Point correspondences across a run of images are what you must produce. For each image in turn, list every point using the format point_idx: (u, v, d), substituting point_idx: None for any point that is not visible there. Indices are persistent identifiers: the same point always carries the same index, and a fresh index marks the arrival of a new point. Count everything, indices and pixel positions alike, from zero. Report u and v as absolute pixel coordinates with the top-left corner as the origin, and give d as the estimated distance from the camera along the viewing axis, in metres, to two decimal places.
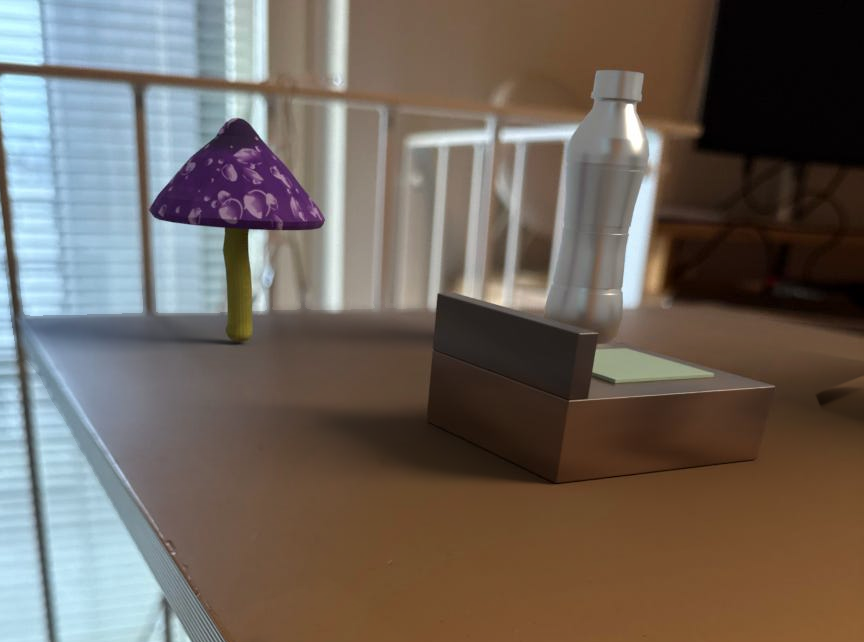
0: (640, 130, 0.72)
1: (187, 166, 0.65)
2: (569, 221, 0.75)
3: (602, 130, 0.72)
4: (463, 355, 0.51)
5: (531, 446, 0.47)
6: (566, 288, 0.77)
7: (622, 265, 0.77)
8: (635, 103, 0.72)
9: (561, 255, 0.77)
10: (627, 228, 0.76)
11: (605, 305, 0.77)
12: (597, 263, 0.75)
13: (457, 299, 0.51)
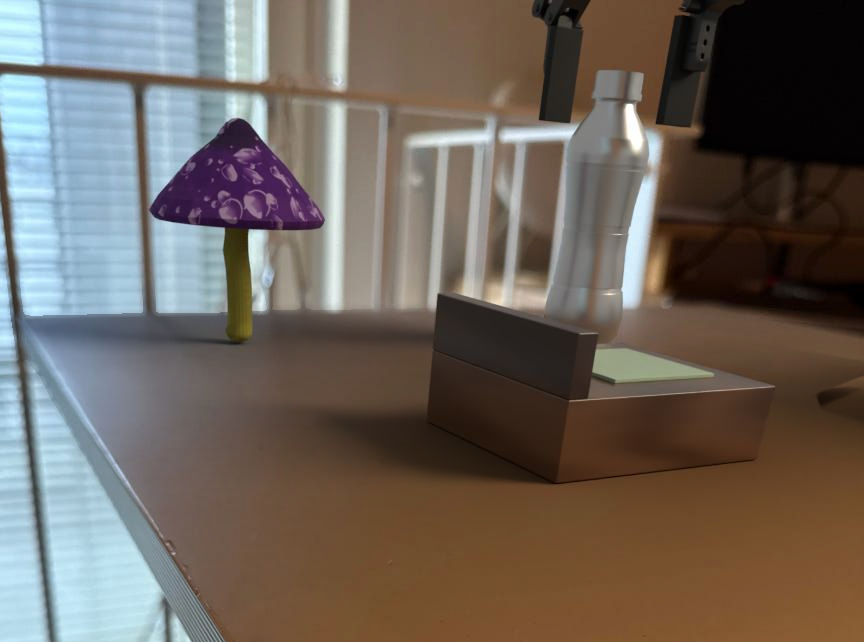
0: (640, 130, 0.72)
1: (187, 166, 0.65)
2: (569, 221, 0.75)
3: (602, 130, 0.72)
4: (463, 355, 0.51)
5: (531, 446, 0.47)
6: (566, 288, 0.77)
7: (622, 265, 0.77)
8: (635, 103, 0.72)
9: (561, 255, 0.77)
10: (627, 228, 0.76)
11: (605, 305, 0.77)
12: (597, 263, 0.75)
13: (457, 299, 0.51)
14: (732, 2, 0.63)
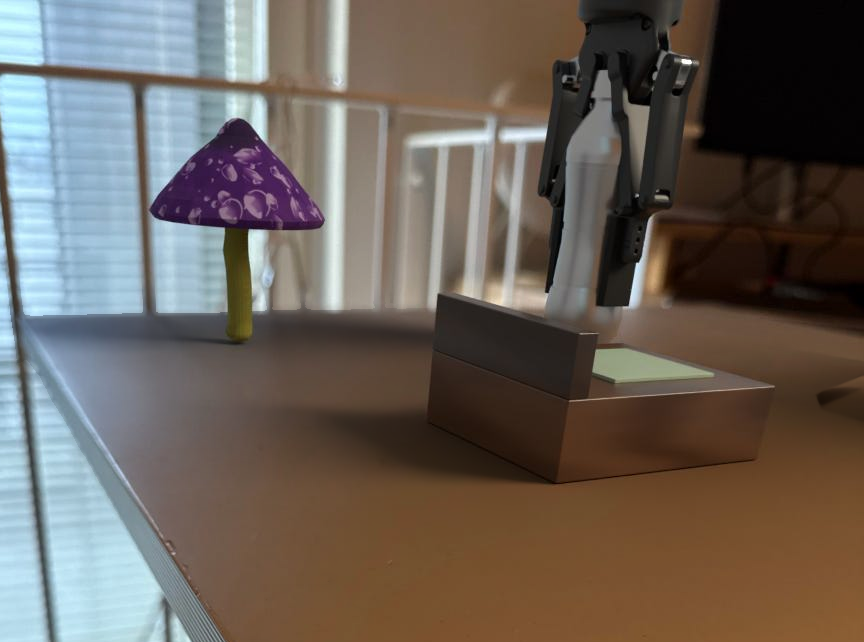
0: None
1: (187, 166, 0.65)
2: (569, 221, 0.75)
3: (601, 130, 0.72)
4: (463, 355, 0.51)
5: (531, 446, 0.47)
6: (566, 288, 0.77)
7: None
8: None
9: (561, 255, 0.77)
10: None
11: None
12: (596, 263, 0.75)
13: (457, 299, 0.51)
14: (657, 209, 0.71)
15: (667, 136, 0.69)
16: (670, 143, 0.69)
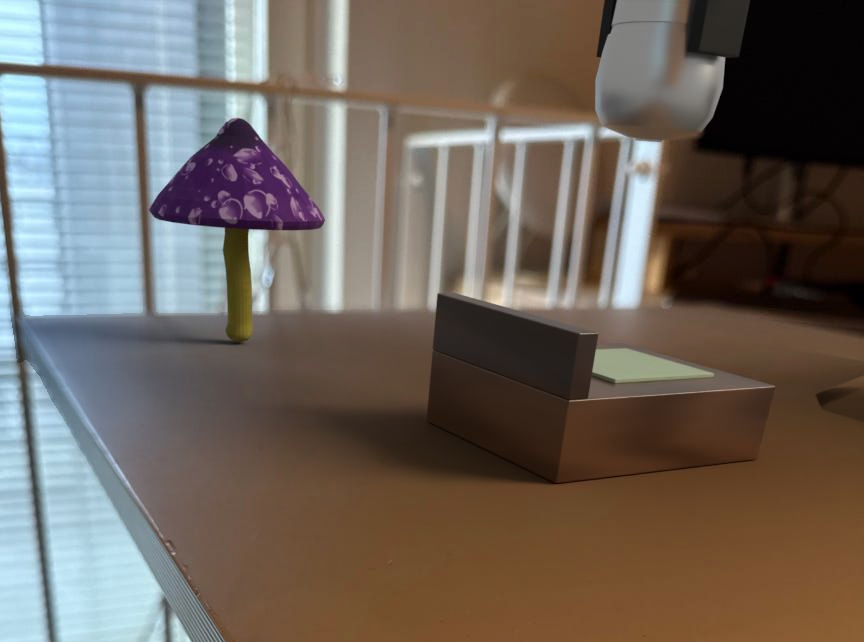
0: None
1: (187, 166, 0.65)
2: None
3: None
4: (463, 355, 0.51)
5: (531, 446, 0.47)
6: (635, 27, 0.47)
7: None
8: None
9: None
10: None
11: (700, 53, 0.47)
12: None
13: (457, 299, 0.51)
14: None
15: None
16: None
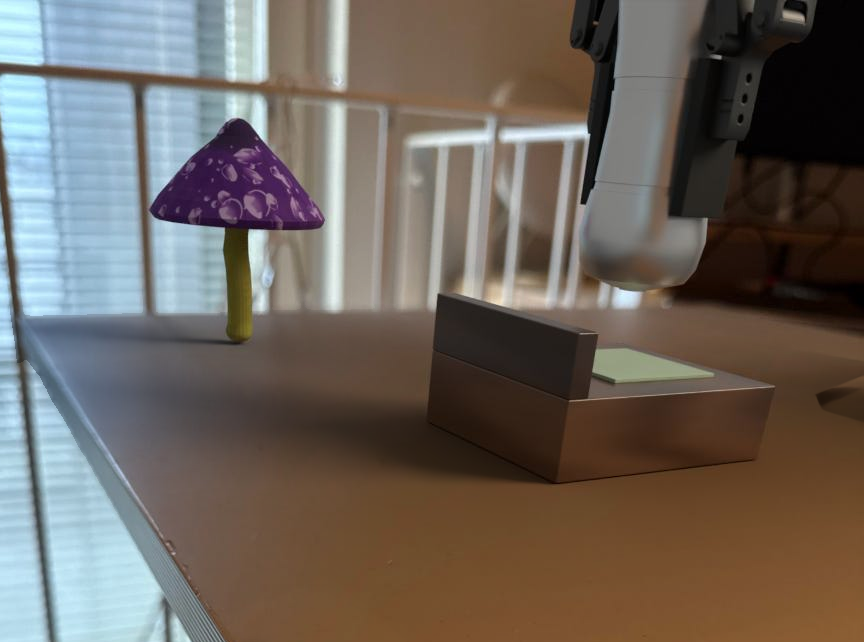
0: None
1: (187, 166, 0.65)
2: (625, 74, 0.45)
3: None
4: (463, 355, 0.51)
5: (531, 446, 0.47)
6: (618, 188, 0.47)
7: None
8: None
9: (609, 135, 0.47)
10: None
11: None
12: (670, 143, 0.45)
13: (457, 299, 0.51)
14: (783, 40, 0.41)
15: None
16: None
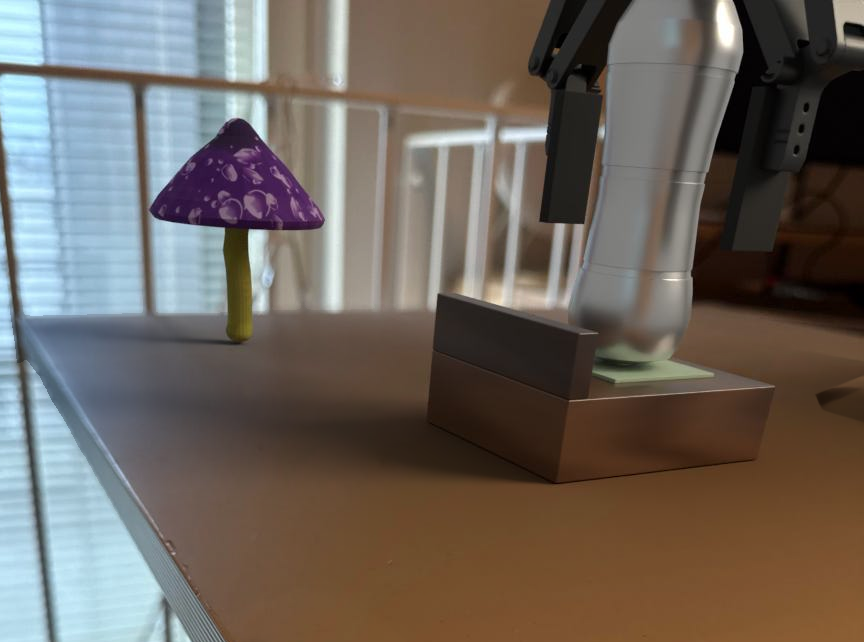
0: (731, 9, 0.44)
1: (187, 166, 0.65)
2: (611, 163, 0.47)
3: (669, 7, 0.43)
4: (463, 355, 0.51)
5: (531, 446, 0.47)
6: (605, 270, 0.49)
7: (694, 234, 0.48)
8: None
9: (597, 218, 0.49)
10: (704, 174, 0.47)
11: (667, 297, 0.48)
12: (655, 230, 0.47)
13: (457, 299, 0.51)
14: (849, 68, 0.39)
15: None
16: None
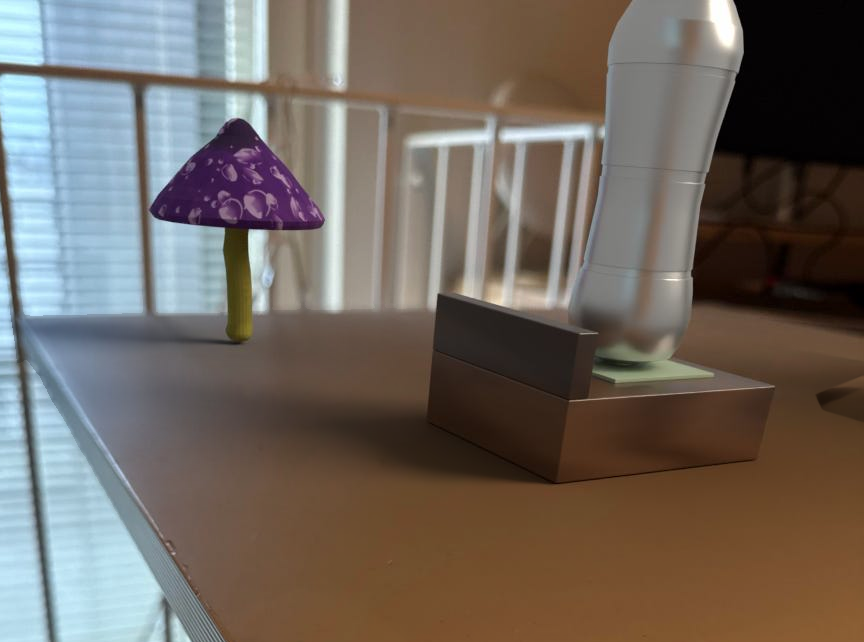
0: (732, 9, 0.44)
1: (187, 166, 0.65)
2: (611, 163, 0.47)
3: (670, 7, 0.43)
4: (463, 355, 0.51)
5: (531, 446, 0.47)
6: (605, 270, 0.49)
7: (694, 234, 0.48)
8: None
9: (597, 218, 0.49)
10: (704, 174, 0.47)
11: (667, 297, 0.48)
12: (656, 230, 0.47)
13: (457, 299, 0.51)
14: None
15: None
16: None
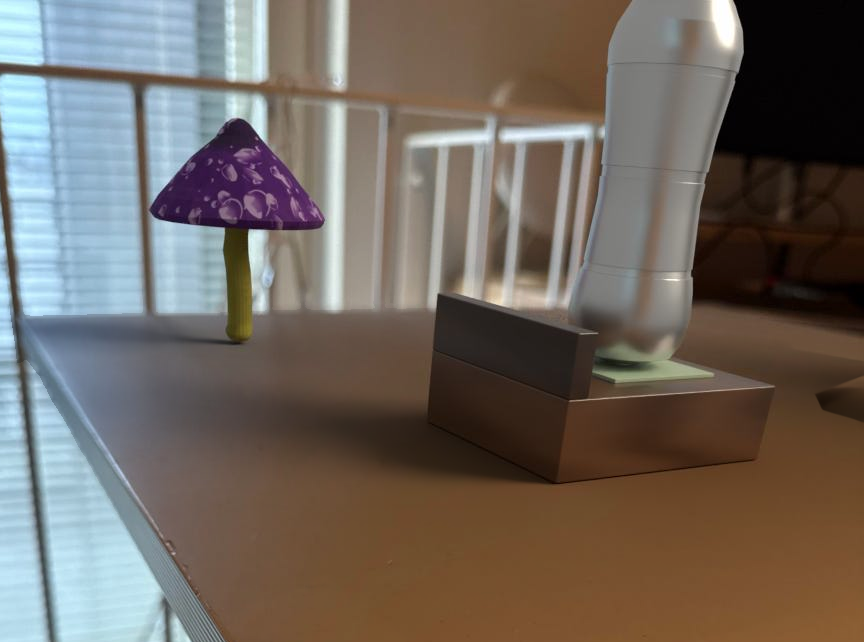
0: (732, 9, 0.44)
1: (187, 166, 0.65)
2: (611, 163, 0.47)
3: (670, 7, 0.43)
4: (463, 355, 0.51)
5: (531, 446, 0.47)
6: (605, 270, 0.49)
7: (694, 234, 0.48)
8: None
9: (597, 218, 0.49)
10: (704, 174, 0.47)
11: (667, 297, 0.48)
12: (656, 229, 0.47)
13: (457, 299, 0.51)
14: None
15: None
16: None
